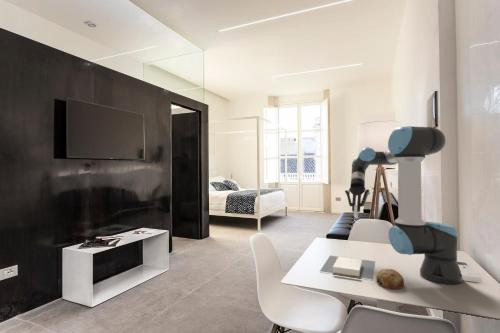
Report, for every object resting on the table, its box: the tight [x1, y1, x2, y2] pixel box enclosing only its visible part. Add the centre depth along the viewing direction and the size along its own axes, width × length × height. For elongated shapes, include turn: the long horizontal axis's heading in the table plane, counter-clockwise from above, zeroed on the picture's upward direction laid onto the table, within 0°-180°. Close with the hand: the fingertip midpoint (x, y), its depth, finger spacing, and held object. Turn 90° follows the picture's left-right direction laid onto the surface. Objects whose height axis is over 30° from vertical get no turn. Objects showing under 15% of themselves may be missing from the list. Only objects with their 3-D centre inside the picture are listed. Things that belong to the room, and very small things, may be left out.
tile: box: [332, 256, 363, 278], centre depth 130 cm, size 3×11×16 cm
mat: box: [319, 255, 376, 281], centre depth 135 cm, size 26×22×1 cm
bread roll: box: [376, 268, 405, 290], centre depth 114 cm, size 10×10×8 cm
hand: (355, 216), depth 148 cm, fingers closed
